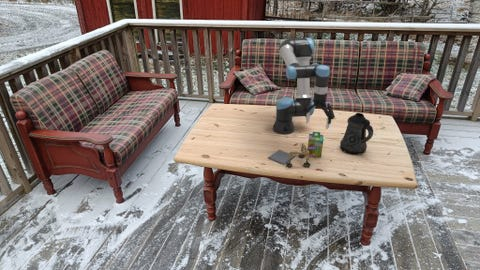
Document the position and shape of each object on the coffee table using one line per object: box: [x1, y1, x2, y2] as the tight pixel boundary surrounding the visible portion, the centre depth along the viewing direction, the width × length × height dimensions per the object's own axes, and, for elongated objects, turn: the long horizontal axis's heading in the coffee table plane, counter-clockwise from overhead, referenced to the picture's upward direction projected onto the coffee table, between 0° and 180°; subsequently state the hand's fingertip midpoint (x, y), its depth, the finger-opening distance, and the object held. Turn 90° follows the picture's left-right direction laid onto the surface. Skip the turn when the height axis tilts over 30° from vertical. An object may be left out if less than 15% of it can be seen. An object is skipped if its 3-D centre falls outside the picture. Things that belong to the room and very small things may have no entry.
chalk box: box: [306, 131, 324, 158], centre depth 212 cm, size 9×9×15 cm
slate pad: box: [267, 149, 296, 166], centre depth 211 cm, size 12×12×1 cm
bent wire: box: [285, 143, 311, 169], centre depth 202 cm, size 12×18×10 cm, turn 139°
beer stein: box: [339, 112, 374, 156], centre depth 213 cm, size 16×19×25 cm
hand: (317, 125), depth 206 cm, fingers open, 13 cm apart
